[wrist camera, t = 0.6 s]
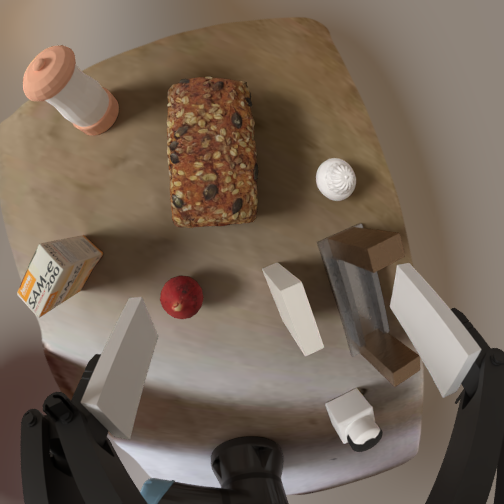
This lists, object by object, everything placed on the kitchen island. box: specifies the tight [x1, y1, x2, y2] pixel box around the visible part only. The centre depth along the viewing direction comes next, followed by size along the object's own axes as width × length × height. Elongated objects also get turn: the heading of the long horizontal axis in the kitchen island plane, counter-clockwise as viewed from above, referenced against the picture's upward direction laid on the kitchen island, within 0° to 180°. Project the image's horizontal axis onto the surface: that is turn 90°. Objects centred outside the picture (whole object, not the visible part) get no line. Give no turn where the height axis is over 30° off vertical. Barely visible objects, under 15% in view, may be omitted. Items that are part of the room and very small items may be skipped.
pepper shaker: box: [23, 45, 119, 135], centre depth 25 cm, size 7×7×19 cm
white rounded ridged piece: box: [316, 158, 356, 201], centre depth 37 cm, size 6×6×7 cm
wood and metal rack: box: [317, 223, 420, 387], centre depth 37 cm, size 22×8×13 cm, turn 22°
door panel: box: [262, 262, 324, 356], centre depth 36 cm, size 9×2×12 cm, turn 22°
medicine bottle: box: [326, 388, 382, 452], centre depth 41 cm, size 7×7×12 cm
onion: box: [160, 276, 203, 319], centre depth 36 cm, size 6×6×8 cm
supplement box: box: [17, 235, 103, 318], centre depth 31 cm, size 8×5×13 cm, turn 140°
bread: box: [167, 77, 258, 228], centre depth 33 cm, size 19×11×10 cm, turn 3°
